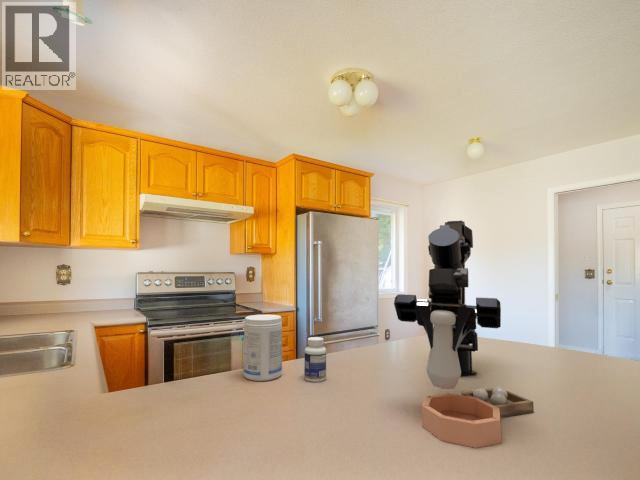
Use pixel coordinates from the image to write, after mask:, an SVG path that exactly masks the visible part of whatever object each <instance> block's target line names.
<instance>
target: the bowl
mask: <svg viewBox="0 0 640 480" xmlns="http://www.w3.org/2000/svg"><path fill="white" fill-rule="evenodd" d="M421 422H422V423H421V424H422V428H424V429H425V430H426V431H428V432H430V433H431V435H433V436H435V438H438V439H439V440H440V441H443V442H447V443H452V444H456V445H460V446H465V447H469V448H474V449H477V448H483V447H487V446H488V447H489V446H493V445H497V444H501V443H502V432H501V418H500V411H499V408H497V407H495V406H493V405H491V404H489V403H487V402H485V401H483V400H481V399H479V398H476V397H470V396H463V395H461V394H457V393H456V394H455V393H450V392H447V393H439V394H430V395H426V396H425V398H424V401H423V402H422V404H421Z"/></svg>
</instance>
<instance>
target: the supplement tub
mask: <svg viewBox="0 0 640 480" xmlns="http://www.w3.org/2000/svg"><path fill="white" fill-rule="evenodd" d="M243 324H244V325H243V326H244V328H243V332H244V333H243V336H244V337H243V376H244V377H245V379H247V380H249V381H255V382H256V381H257V382H266V381H272V380H275V379H278V378H279V377H280V376H281V375H282V373H283V322H282V316H281V315H278V314H254V315H253V314H252V315H248V316H246V317H244V323H243Z"/></svg>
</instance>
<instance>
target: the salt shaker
mask: <svg viewBox="0 0 640 480" xmlns="http://www.w3.org/2000/svg"><path fill="white" fill-rule="evenodd" d="M430 320H431V323H433V347H432V349H431V347H430V346H429V347H430V349H429V354H428V360H427V365H426V373H427V376H428V377H429V380H430V382H431V384H432V387H436V388H439V389H442V390H454V389H455V387H456V386H457V385H458V382H459V381H460V379H461V377H462V376H461V368H460V363H459V358H458V353H457V350H456V351H454V350H453V337H454V333H453V328H452V325H455V322H456V317H455V314H454V313H453V312H450V311H446V310H435V311H433V312H432V313H431V316H430Z"/></svg>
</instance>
